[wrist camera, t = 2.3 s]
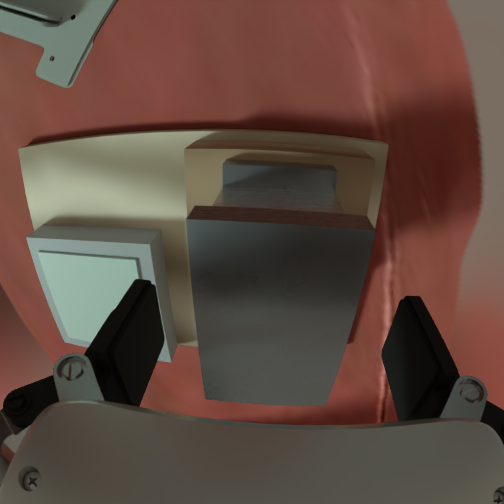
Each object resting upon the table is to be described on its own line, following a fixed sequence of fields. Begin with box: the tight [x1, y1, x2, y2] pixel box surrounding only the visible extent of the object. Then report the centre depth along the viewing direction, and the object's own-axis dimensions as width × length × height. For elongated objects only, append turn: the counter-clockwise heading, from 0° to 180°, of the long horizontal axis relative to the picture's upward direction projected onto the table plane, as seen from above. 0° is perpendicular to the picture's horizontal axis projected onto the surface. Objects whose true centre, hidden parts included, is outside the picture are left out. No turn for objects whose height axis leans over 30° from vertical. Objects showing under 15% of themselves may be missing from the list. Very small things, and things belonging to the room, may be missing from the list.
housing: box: [186, 159, 376, 406], centre depth 13 cm, size 8×5×7 cm, turn 179°
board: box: [19, 129, 389, 347], centre depth 21 cm, size 16×24×1 cm, turn 89°
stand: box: [184, 140, 376, 217], centre depth 17 cm, size 9×9×2 cm
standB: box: [26, 225, 178, 362], centre depth 21 cm, size 10×10×2 cm
